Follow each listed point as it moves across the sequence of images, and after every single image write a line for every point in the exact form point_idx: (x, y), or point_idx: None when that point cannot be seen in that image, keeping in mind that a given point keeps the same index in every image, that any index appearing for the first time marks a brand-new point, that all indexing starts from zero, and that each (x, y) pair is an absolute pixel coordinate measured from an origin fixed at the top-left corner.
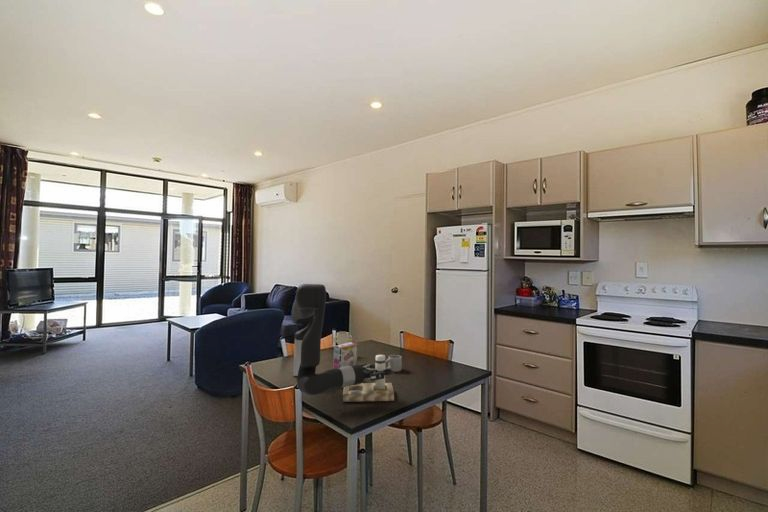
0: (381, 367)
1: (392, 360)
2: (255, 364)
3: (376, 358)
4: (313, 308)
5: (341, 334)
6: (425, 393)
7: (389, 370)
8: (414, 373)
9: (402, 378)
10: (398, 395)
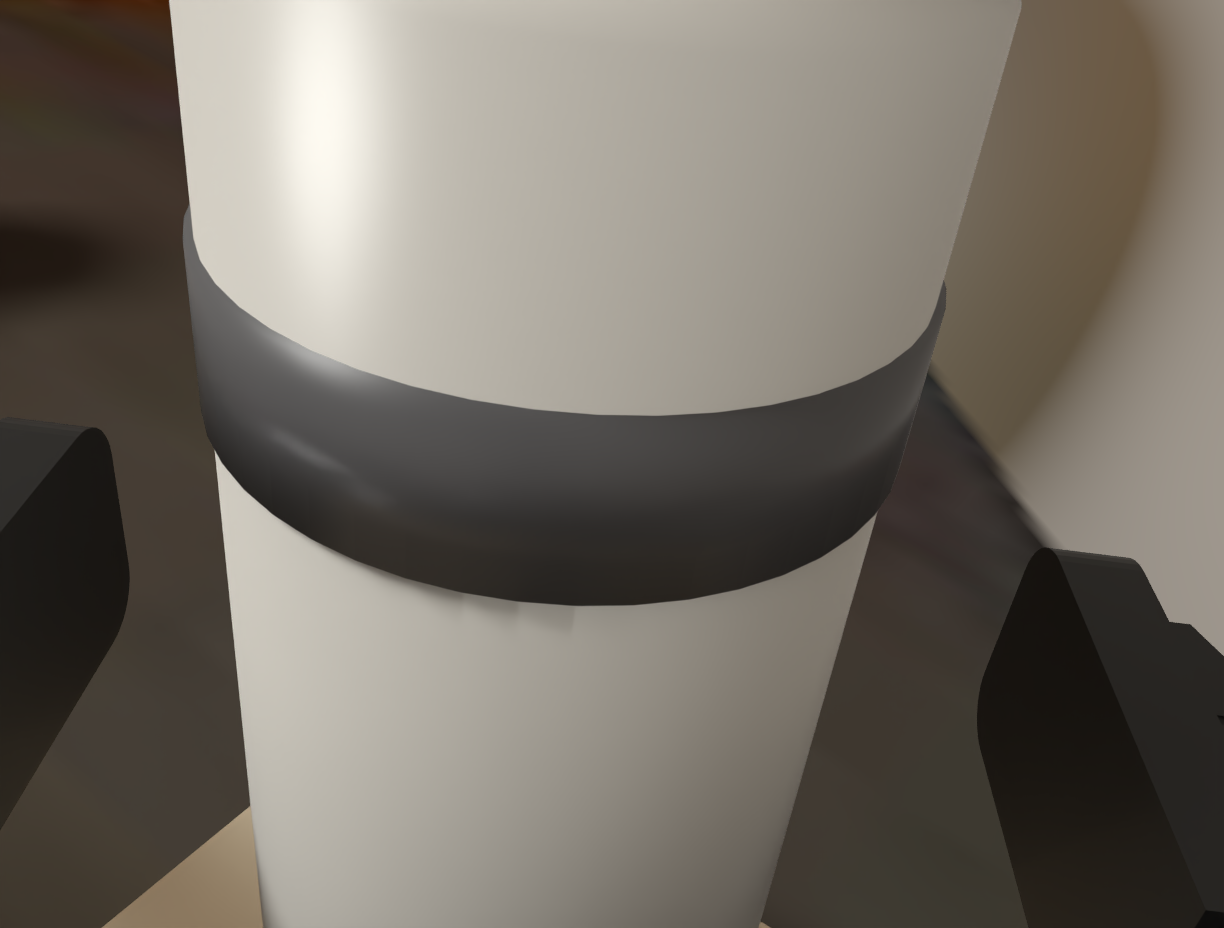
0: (824, 689)
1: None
2: None
3: (598, 231)
4: None
5: None
6: (928, 561)
7: (1186, 644)
8: (179, 238)
9: (153, 389)
10: (778, 924)
